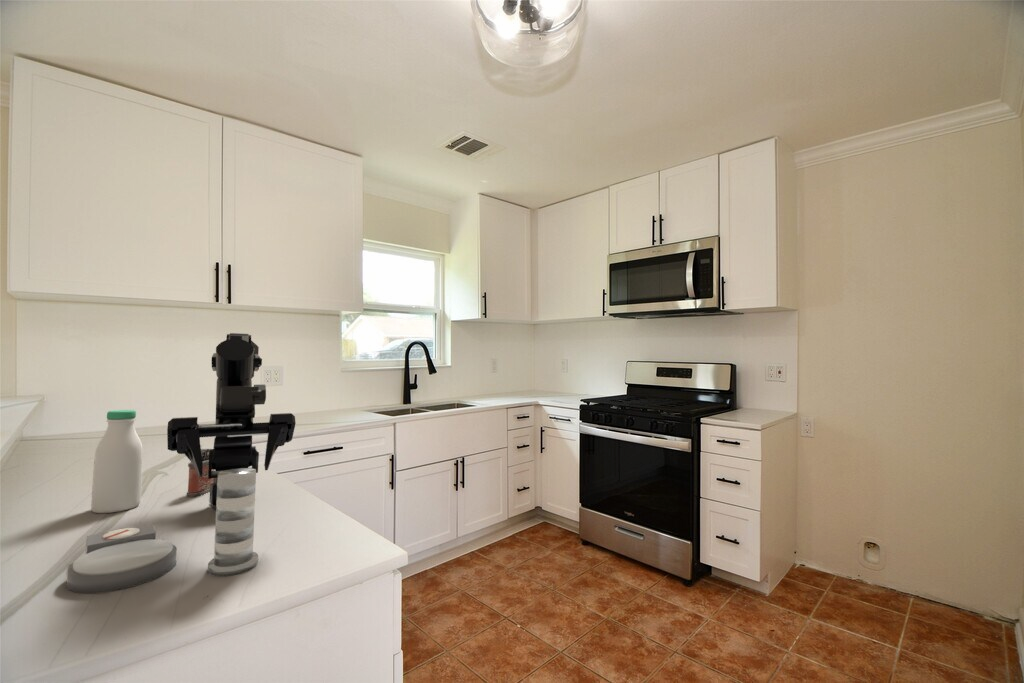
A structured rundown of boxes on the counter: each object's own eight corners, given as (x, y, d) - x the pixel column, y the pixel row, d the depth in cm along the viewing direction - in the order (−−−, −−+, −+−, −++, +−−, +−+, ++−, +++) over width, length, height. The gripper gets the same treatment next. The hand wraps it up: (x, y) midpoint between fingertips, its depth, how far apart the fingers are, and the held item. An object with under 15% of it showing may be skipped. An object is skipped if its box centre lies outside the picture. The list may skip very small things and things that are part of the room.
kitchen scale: (165, 540, 78) (166, 519, 78) (182, 573, 66) (183, 548, 66) (67, 560, 69) (69, 537, 70) (66, 603, 58) (67, 574, 58)
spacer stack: (251, 553, 73) (254, 465, 74) (263, 567, 68) (266, 472, 69) (203, 565, 69) (207, 471, 69) (213, 580, 64) (217, 479, 65)
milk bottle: (148, 505, 96) (153, 410, 97) (103, 516, 89) (109, 413, 90) (128, 500, 99) (133, 408, 100) (82, 510, 92) (88, 411, 93)
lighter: (203, 488, 110) (205, 446, 110) (218, 487, 110) (220, 446, 111) (182, 497, 102) (184, 452, 102) (198, 497, 102) (200, 452, 103)
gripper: (171, 368, 75) (162, 447, 65) (296, 369, 85) (304, 437, 75) (171, 412, 81) (163, 490, 71) (288, 408, 91) (294, 475, 81)
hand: (234, 472), depth 75 cm, fingers open, 9 cm apart
